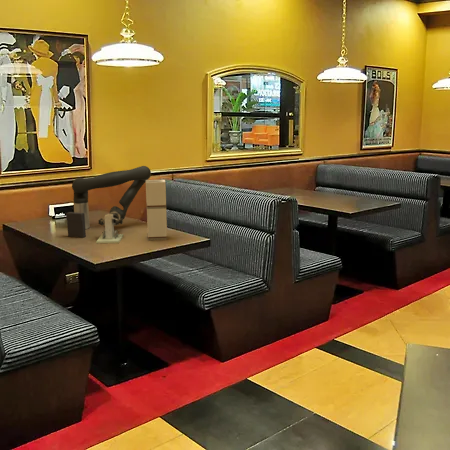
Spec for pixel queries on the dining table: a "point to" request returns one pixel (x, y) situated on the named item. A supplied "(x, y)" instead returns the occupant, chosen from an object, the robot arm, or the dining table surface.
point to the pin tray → (115, 239)
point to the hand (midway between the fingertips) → (108, 223)
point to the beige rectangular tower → (156, 209)
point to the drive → (109, 226)
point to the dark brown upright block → (76, 224)
